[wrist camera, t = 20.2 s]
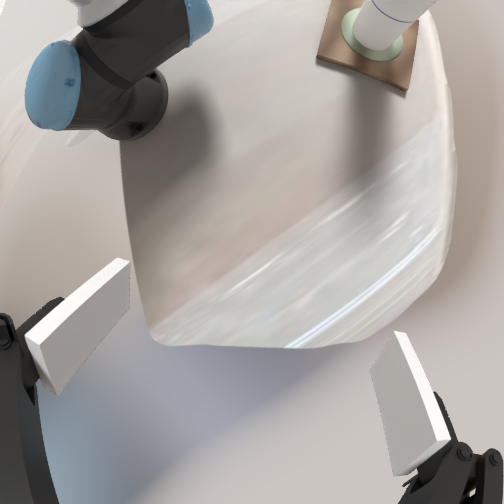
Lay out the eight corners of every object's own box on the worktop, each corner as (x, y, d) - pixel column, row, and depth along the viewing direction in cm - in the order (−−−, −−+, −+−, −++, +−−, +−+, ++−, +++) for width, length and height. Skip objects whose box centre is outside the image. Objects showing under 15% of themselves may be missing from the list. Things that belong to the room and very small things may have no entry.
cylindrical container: (343, 30, 33) (384, -58, 10) (367, 9, 31) (415, -72, 8) (377, 58, 34) (447, -10, 11) (399, 36, 32) (470, -29, 9)
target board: (316, 57, 37) (317, 53, 36) (333, -9, 32) (335, -14, 30) (405, 90, 37) (408, 89, 35) (416, 23, 31) (419, 19, 30)
